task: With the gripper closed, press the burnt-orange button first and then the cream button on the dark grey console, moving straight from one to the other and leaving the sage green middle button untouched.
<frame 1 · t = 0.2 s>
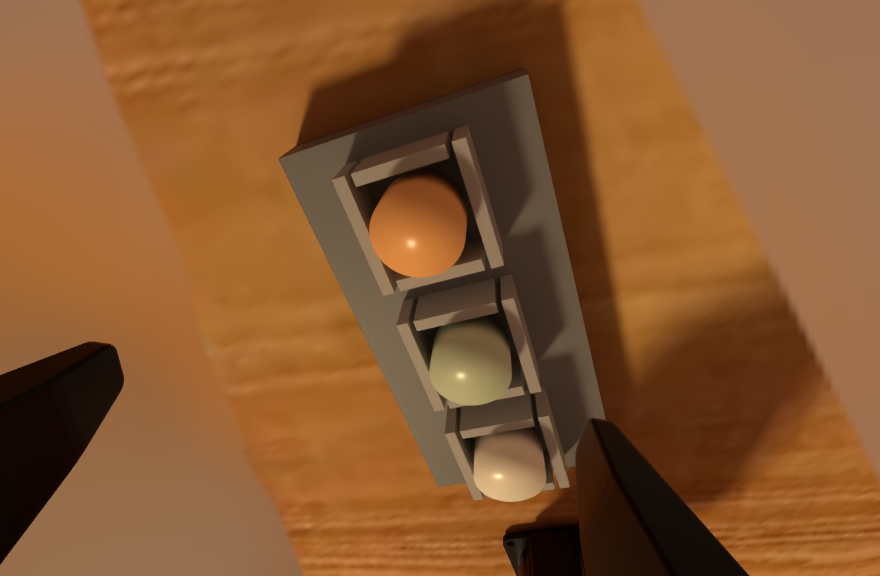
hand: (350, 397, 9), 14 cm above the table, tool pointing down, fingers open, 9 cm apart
console: (473, 309, 24), on the table
orange button: (420, 224, 18), point 4 cm above the table, slide at 0.0 cm
sage button: (470, 359, 21), point 4 cm above the table, slide at 0.0 cm
cream button: (508, 461, 24), point 4 cm above the table, slide at 0.0 cm
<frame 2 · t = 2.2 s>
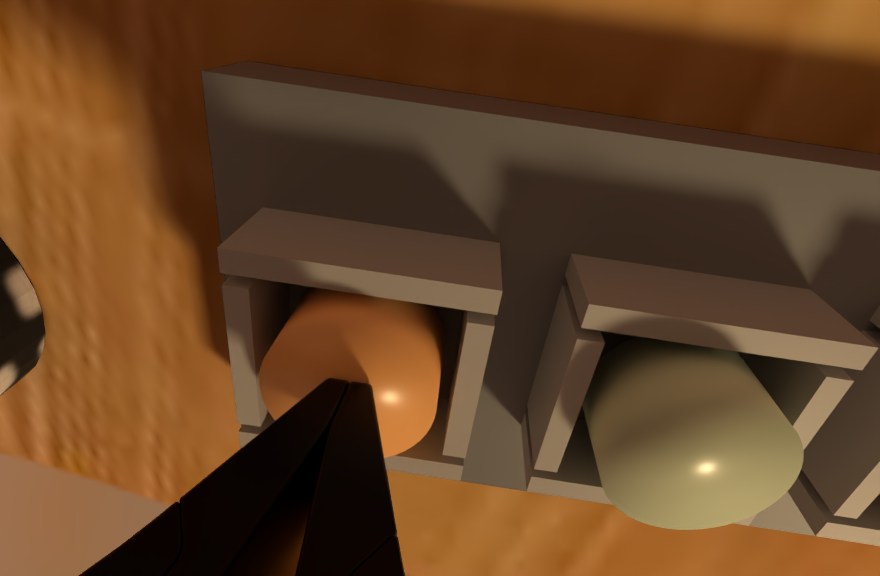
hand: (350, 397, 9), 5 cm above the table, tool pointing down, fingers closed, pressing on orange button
console: (627, 317, 13), on the table
orange button: (359, 364, 10), point 4 cm above the table, slide at 0.5 cm, touching gripper
sage button: (679, 429, 10), point 4 cm above the table, slide at 0.0 cm
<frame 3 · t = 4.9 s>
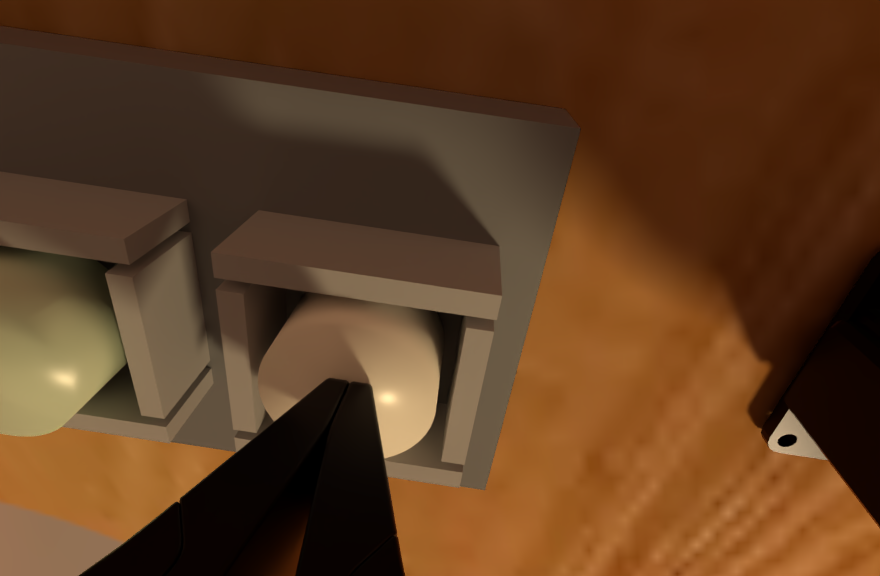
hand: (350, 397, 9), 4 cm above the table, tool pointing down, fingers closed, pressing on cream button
console: (147, 248, 13), on the table
sage button: (24, 335, 9), point 4 cm above the table, slide at 0.0 cm
cream button: (358, 364, 10), point 3 cm above the table, slide at 0.6 cm, touching gripper
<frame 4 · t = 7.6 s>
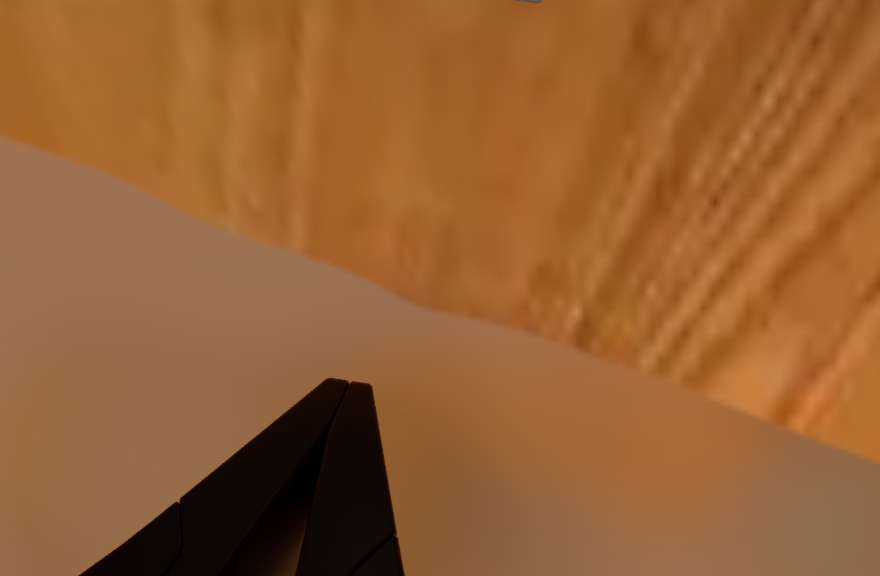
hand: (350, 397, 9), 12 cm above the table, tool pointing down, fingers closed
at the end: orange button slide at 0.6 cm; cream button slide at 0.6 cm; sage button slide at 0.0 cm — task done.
